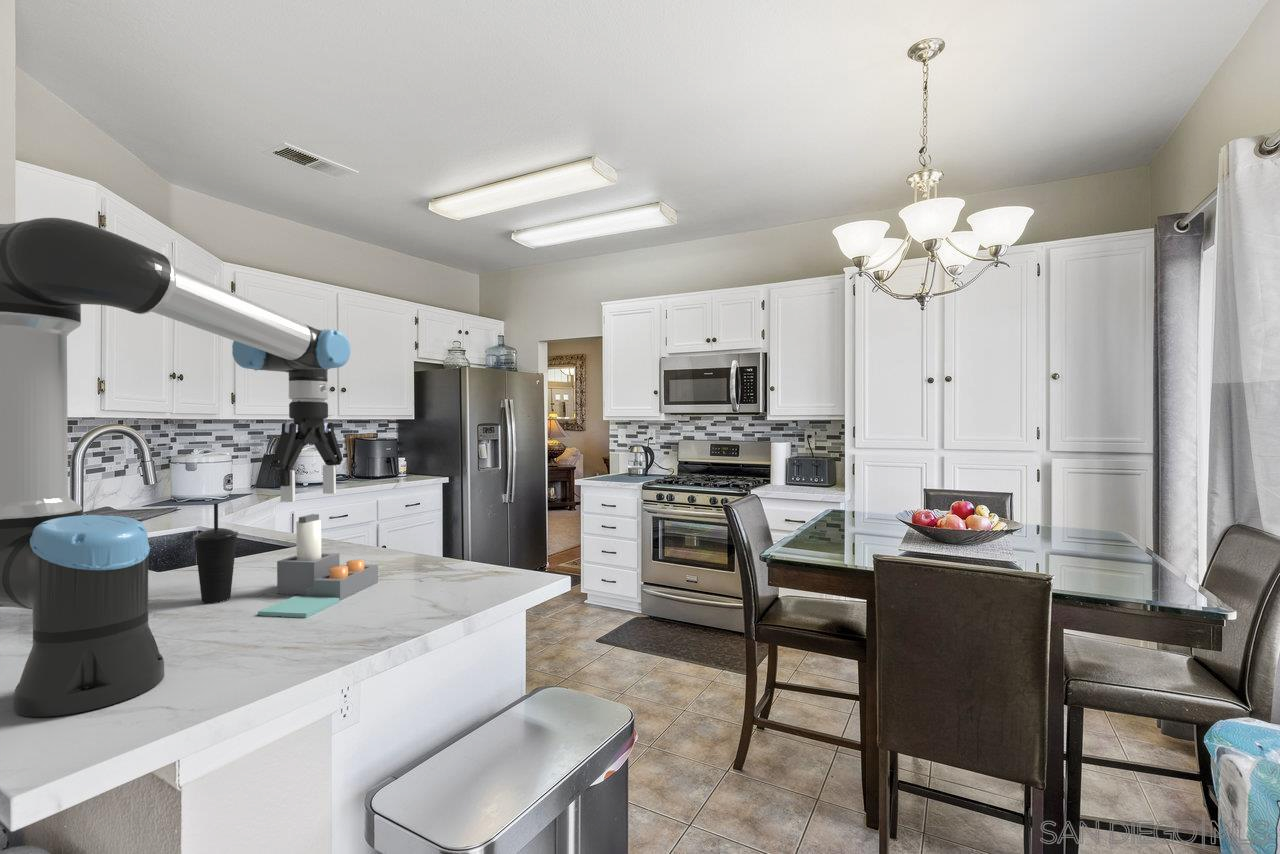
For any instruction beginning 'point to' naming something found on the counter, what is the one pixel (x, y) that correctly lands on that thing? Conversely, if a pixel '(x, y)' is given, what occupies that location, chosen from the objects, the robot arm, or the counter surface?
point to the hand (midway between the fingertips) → (309, 497)
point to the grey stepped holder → (321, 577)
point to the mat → (299, 606)
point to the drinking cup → (215, 561)
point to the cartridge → (308, 538)
